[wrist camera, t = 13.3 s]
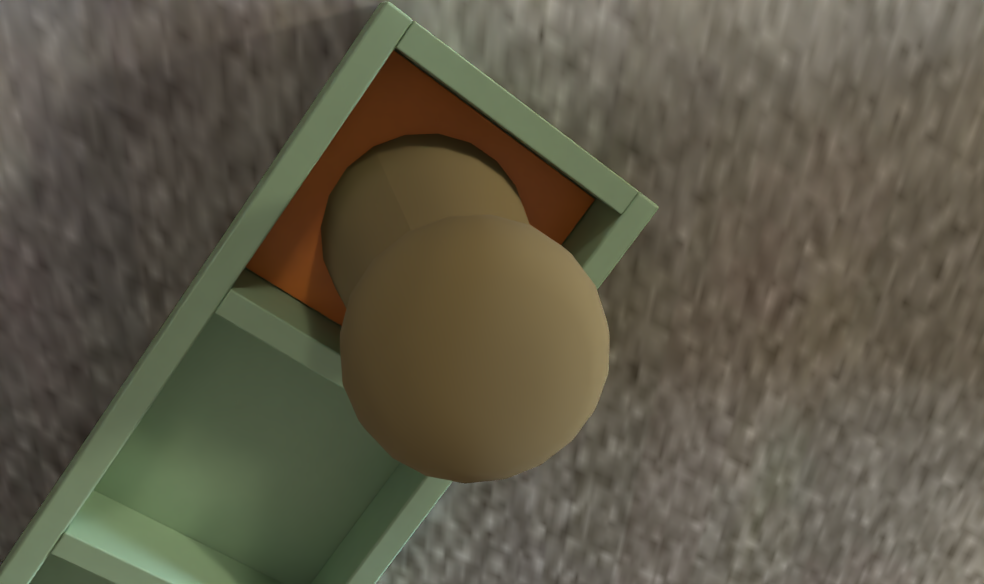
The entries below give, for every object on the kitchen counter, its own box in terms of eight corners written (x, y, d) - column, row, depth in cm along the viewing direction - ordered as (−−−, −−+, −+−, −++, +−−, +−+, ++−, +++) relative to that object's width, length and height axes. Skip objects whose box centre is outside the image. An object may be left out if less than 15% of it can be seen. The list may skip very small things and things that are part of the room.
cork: (541, 310, 27) (672, 490, 17) (346, 354, 27) (358, 570, 16) (509, 113, 25) (634, 180, 15) (297, 156, 25) (275, 257, 14)
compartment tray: (-82, 687, 28) (-128, 763, 25) (380, 1, 24) (387, -1, 22) (177, 790, 31) (162, 868, 28) (626, 188, 27) (660, 207, 24)
